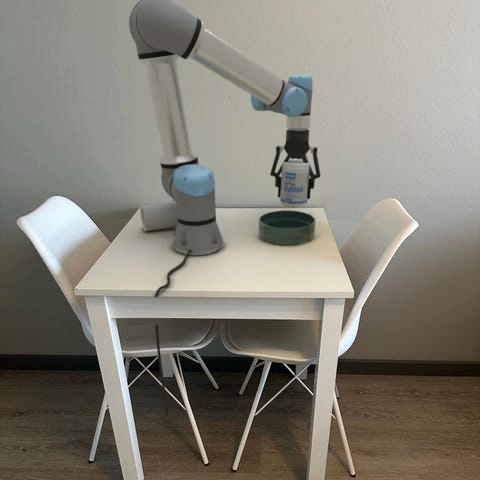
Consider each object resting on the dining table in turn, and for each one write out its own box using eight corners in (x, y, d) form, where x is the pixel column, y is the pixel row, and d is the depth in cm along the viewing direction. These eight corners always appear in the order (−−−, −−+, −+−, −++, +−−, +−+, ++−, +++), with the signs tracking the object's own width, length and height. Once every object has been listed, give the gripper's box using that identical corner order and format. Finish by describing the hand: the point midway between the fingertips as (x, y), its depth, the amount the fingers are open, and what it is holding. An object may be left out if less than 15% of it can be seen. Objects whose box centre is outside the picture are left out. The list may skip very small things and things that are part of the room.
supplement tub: (282, 209, 160) (284, 164, 153) (277, 201, 168) (279, 158, 161) (310, 208, 161) (313, 164, 153) (304, 200, 169) (307, 158, 162)
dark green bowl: (322, 243, 145) (323, 226, 143) (265, 248, 143) (265, 231, 140) (304, 224, 161) (305, 208, 158) (253, 228, 158) (253, 212, 155)
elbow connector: (189, 232, 152) (202, 213, 169) (180, 201, 147) (194, 184, 164) (140, 241, 156) (157, 222, 173) (129, 211, 151) (148, 194, 168)
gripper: (332, 128, 153) (326, 195, 165) (265, 126, 157) (264, 192, 168) (332, 131, 147) (325, 202, 158) (262, 129, 151) (260, 198, 162)
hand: (293, 197), depth 163 cm, fingers closed on supplement tub, 10 cm apart
